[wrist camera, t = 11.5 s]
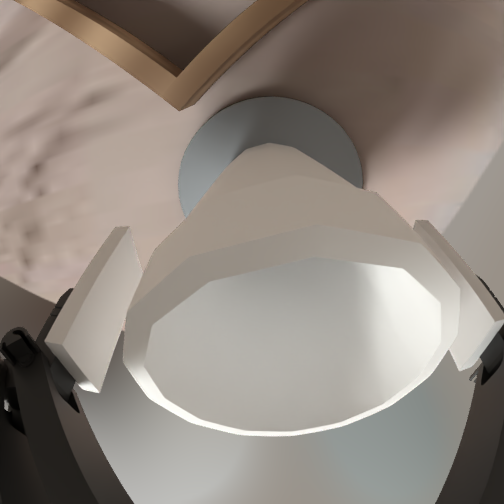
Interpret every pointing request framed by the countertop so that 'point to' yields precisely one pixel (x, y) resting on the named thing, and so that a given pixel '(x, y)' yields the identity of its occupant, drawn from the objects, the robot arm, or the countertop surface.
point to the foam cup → (288, 303)
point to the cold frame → (153, 63)
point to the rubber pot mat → (263, 142)
